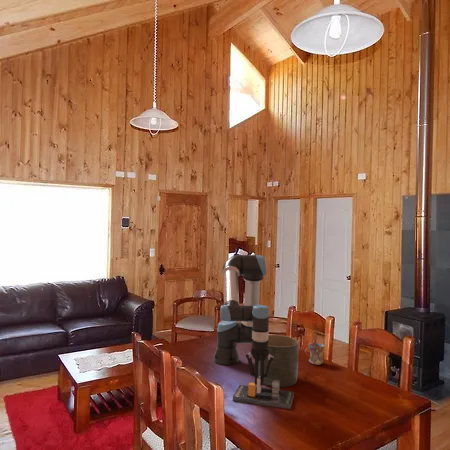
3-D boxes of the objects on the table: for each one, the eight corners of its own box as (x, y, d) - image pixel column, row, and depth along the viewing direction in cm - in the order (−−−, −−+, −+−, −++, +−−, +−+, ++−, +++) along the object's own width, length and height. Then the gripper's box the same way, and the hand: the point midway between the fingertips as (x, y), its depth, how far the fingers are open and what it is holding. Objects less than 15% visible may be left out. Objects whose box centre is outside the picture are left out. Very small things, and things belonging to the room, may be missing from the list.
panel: (232, 400, 179) (233, 385, 179) (239, 388, 192) (240, 374, 192) (290, 409, 172) (290, 393, 172) (293, 396, 185) (293, 381, 185)
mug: (318, 359, 238) (319, 342, 238) (327, 365, 229) (327, 346, 230) (301, 361, 234) (301, 343, 235) (309, 366, 226) (309, 348, 226)
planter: (302, 376, 211) (303, 338, 211) (291, 391, 191) (292, 349, 191) (263, 368, 221) (264, 332, 221) (249, 382, 200) (249, 342, 201)
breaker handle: (248, 395, 179) (248, 384, 179) (249, 393, 182) (249, 382, 182) (254, 396, 178) (254, 385, 178) (255, 394, 181) (256, 383, 181)
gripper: (244, 340, 177) (243, 393, 177) (273, 343, 174) (271, 397, 174) (247, 336, 185) (246, 386, 185) (275, 339, 181) (274, 390, 181)
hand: (258, 391), depth 179 cm, fingers closed
